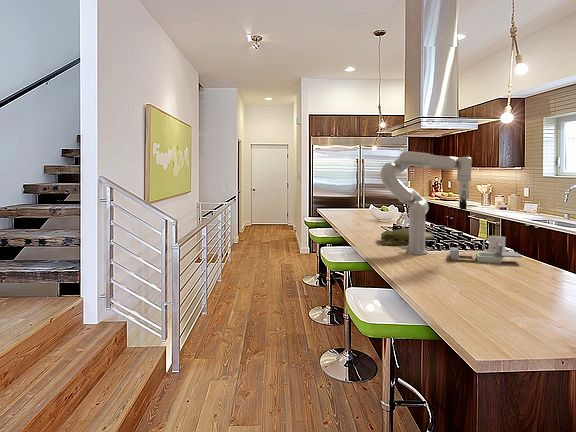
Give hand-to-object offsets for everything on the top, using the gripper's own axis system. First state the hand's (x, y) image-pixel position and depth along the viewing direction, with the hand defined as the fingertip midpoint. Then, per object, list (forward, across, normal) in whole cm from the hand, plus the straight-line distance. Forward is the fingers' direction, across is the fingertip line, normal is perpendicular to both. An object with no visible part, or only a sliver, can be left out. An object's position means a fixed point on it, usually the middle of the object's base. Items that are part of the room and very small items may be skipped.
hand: (462, 208), depth 280 cm
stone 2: (+28, -11, +4) cm, 31 cm away
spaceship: (+29, +42, +32) cm, 60 cm away
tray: (+28, -8, 0) cm, 29 cm away
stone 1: (+28, -6, +4) cm, 29 cm away
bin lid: (+24, -8, -24) cm, 35 cm away
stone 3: (+25, -8, -11) cm, 29 cm away
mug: (+28, +10, -19) cm, 36 cm away
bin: (+28, -8, -14) cm, 33 cm away
